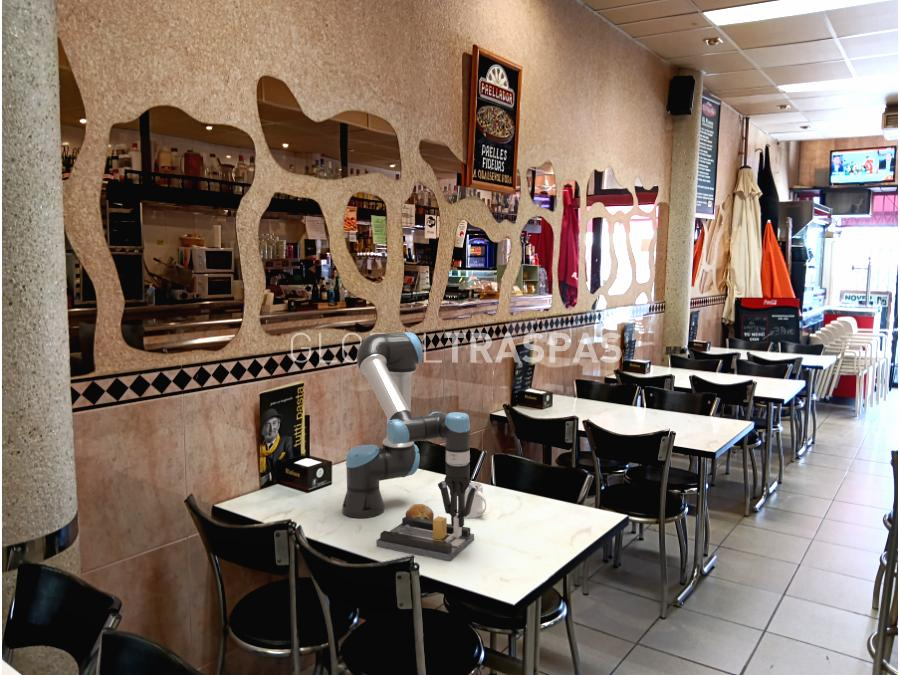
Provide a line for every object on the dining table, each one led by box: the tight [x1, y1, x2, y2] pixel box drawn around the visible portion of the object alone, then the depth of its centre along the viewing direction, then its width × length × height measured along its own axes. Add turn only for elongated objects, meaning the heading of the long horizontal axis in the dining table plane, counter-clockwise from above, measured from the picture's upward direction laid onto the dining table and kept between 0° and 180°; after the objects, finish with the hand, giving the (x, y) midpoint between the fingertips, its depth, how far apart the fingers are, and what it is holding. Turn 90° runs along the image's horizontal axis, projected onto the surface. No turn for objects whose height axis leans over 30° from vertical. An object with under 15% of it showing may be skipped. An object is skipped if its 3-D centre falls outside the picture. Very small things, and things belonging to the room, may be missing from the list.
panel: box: [376, 515, 475, 562], centre depth 225 cm, size 26×18×4 cm
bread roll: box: [405, 503, 435, 521], centre depth 243 cm, size 10×10×8 cm
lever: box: [433, 516, 448, 541], centre depth 222 cm, size 3×4×7 cm
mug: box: [464, 481, 487, 519], centre depth 248 cm, size 9×12×11 cm
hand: (457, 536), depth 220 cm, fingers closed
